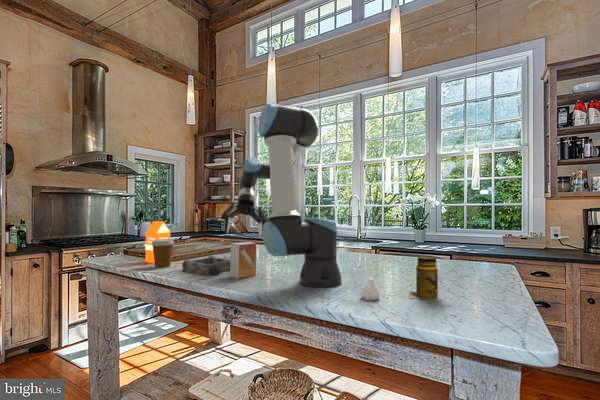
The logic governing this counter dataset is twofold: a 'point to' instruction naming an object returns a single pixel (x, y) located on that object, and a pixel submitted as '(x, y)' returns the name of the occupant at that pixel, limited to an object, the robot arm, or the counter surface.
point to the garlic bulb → (370, 291)
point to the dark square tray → (207, 266)
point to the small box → (243, 260)
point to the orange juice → (155, 237)
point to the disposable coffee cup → (162, 252)
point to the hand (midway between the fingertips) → (244, 233)
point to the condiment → (426, 279)
